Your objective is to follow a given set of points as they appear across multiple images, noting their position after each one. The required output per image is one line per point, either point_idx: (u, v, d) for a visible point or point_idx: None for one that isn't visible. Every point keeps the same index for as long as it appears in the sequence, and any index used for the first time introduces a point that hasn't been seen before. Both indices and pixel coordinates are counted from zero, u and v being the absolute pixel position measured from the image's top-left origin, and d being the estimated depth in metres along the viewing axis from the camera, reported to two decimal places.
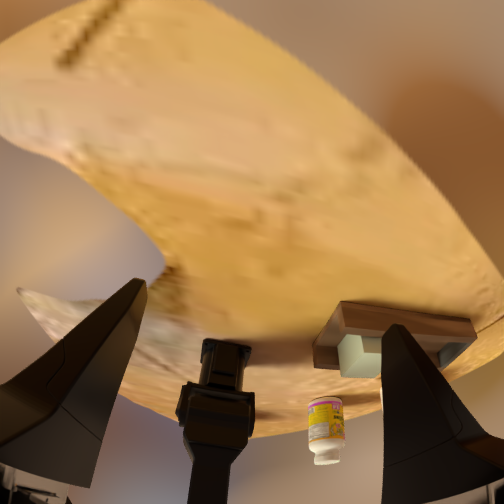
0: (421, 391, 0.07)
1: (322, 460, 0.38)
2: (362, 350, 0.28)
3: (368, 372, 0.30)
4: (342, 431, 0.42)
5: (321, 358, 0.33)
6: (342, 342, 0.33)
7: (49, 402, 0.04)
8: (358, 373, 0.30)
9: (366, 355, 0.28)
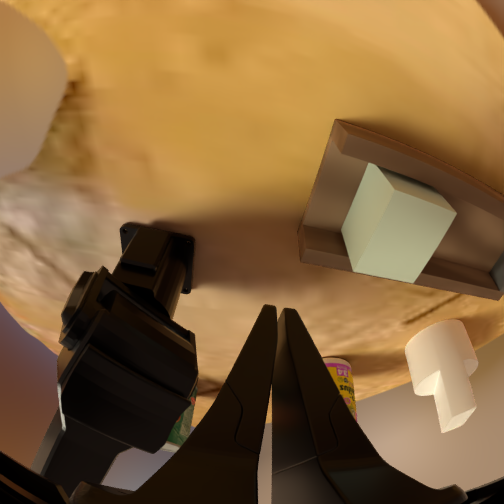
0: (294, 390, 0.07)
1: None
2: (390, 190, 0.14)
3: (405, 262, 0.16)
4: (353, 410, 0.28)
5: (313, 242, 0.19)
6: (349, 215, 0.19)
7: (246, 456, 0.05)
8: (387, 263, 0.16)
9: (399, 201, 0.14)
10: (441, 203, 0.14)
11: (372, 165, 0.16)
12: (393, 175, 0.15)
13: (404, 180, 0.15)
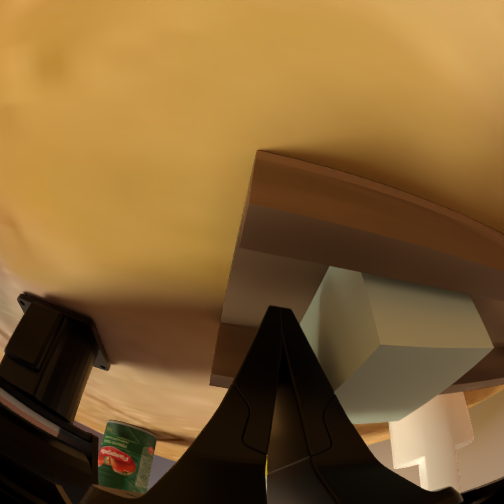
0: (288, 389, 0.07)
1: None
2: (372, 336, 0.06)
3: (387, 410, 0.09)
4: None
5: (228, 360, 0.12)
6: (306, 317, 0.12)
7: (254, 456, 0.05)
8: (356, 414, 0.09)
9: (388, 358, 0.06)
10: (471, 332, 0.07)
11: None
12: (387, 278, 0.08)
13: (408, 286, 0.08)
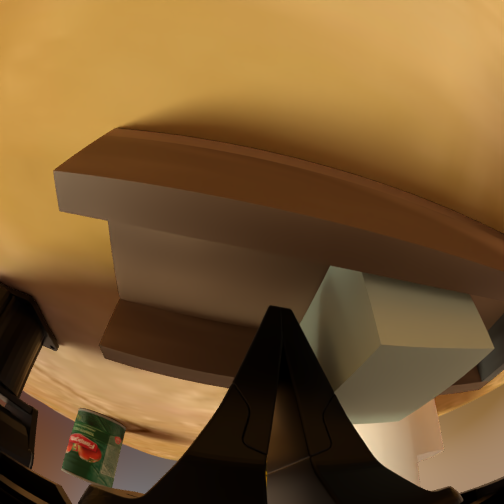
0: (288, 389, 0.07)
1: None
2: (373, 336, 0.06)
3: (388, 410, 0.09)
4: None
5: (117, 333, 0.11)
6: (307, 317, 0.12)
7: (255, 457, 0.05)
8: (356, 415, 0.09)
9: (388, 358, 0.06)
10: (472, 333, 0.07)
11: None
12: (388, 278, 0.08)
13: (409, 286, 0.08)
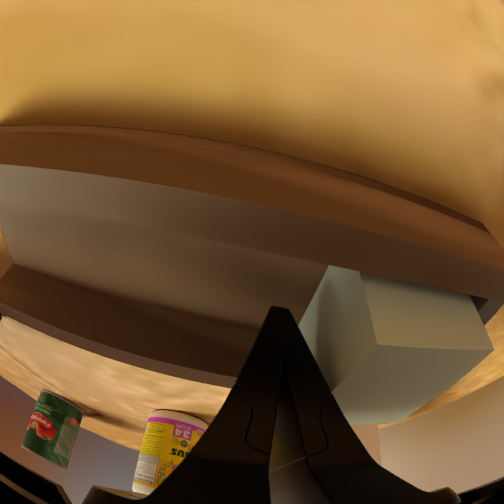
0: (285, 389, 0.07)
1: None
2: (369, 336, 0.06)
3: (386, 411, 0.09)
4: None
5: (2, 288, 0.11)
6: (306, 317, 0.12)
7: (258, 457, 0.05)
8: (354, 415, 0.09)
9: (385, 358, 0.06)
10: (471, 333, 0.06)
11: None
12: (386, 277, 0.08)
13: (407, 286, 0.08)
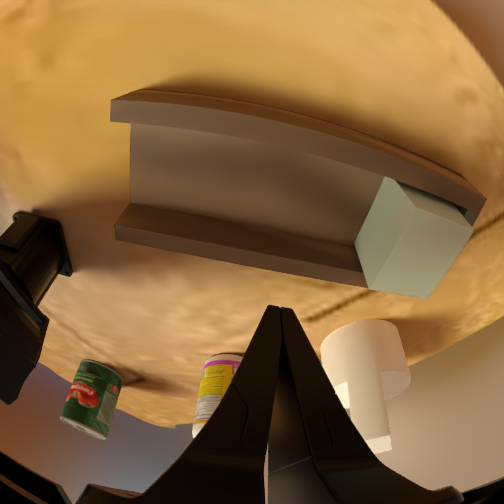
0: (289, 389, 0.07)
1: None
2: (410, 207, 0.13)
3: (420, 279, 0.15)
4: None
5: (127, 219, 0.17)
6: (363, 229, 0.18)
7: (253, 456, 0.05)
8: (403, 280, 0.15)
9: (419, 219, 0.13)
10: (459, 219, 0.13)
11: (389, 179, 0.16)
12: (411, 190, 0.14)
13: (422, 195, 0.14)
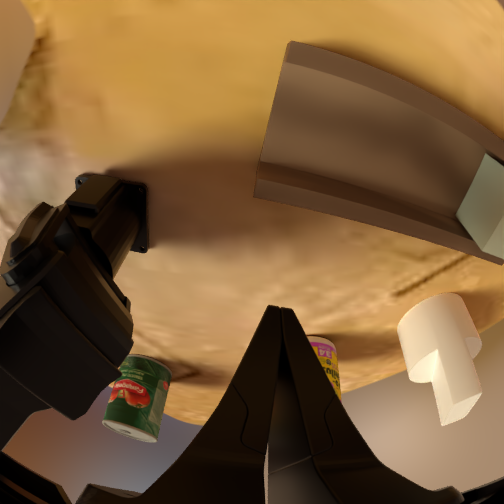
0: (289, 389, 0.07)
1: None
2: None
3: None
4: None
5: (268, 175, 0.16)
6: (465, 202, 0.17)
7: (253, 456, 0.05)
8: (503, 243, 0.14)
9: None
10: None
11: (489, 160, 0.15)
12: None
13: None
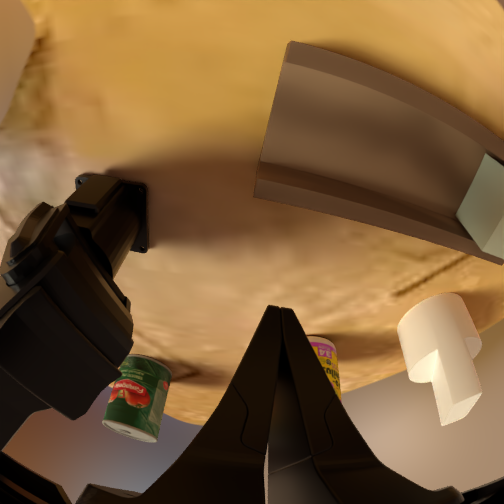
0: (289, 389, 0.07)
1: None
2: None
3: None
4: None
5: (268, 175, 0.16)
6: (465, 202, 0.17)
7: (253, 456, 0.05)
8: (503, 243, 0.14)
9: None
10: None
11: (489, 160, 0.15)
12: None
13: None
